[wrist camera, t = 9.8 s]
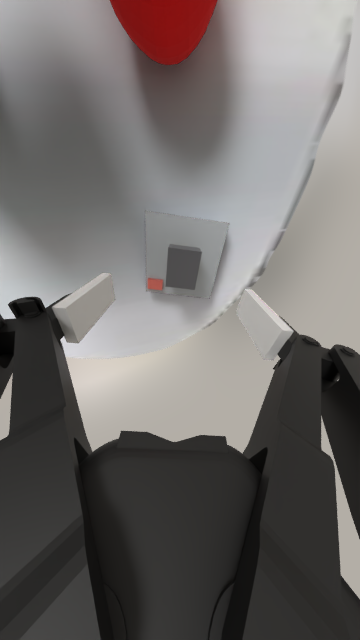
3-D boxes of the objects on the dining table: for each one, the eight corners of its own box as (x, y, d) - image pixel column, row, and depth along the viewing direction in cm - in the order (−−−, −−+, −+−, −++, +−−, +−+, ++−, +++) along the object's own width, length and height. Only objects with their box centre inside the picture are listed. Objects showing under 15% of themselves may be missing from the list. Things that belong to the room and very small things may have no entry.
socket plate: (148, 211, 26) (144, 210, 23) (225, 223, 27) (230, 223, 24) (148, 286, 34) (145, 292, 31) (207, 293, 35) (210, 300, 32)
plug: (171, 240, 29) (168, 247, 21) (196, 244, 29) (202, 251, 21) (169, 271, 32) (165, 286, 24) (191, 274, 32) (194, 290, 25)
